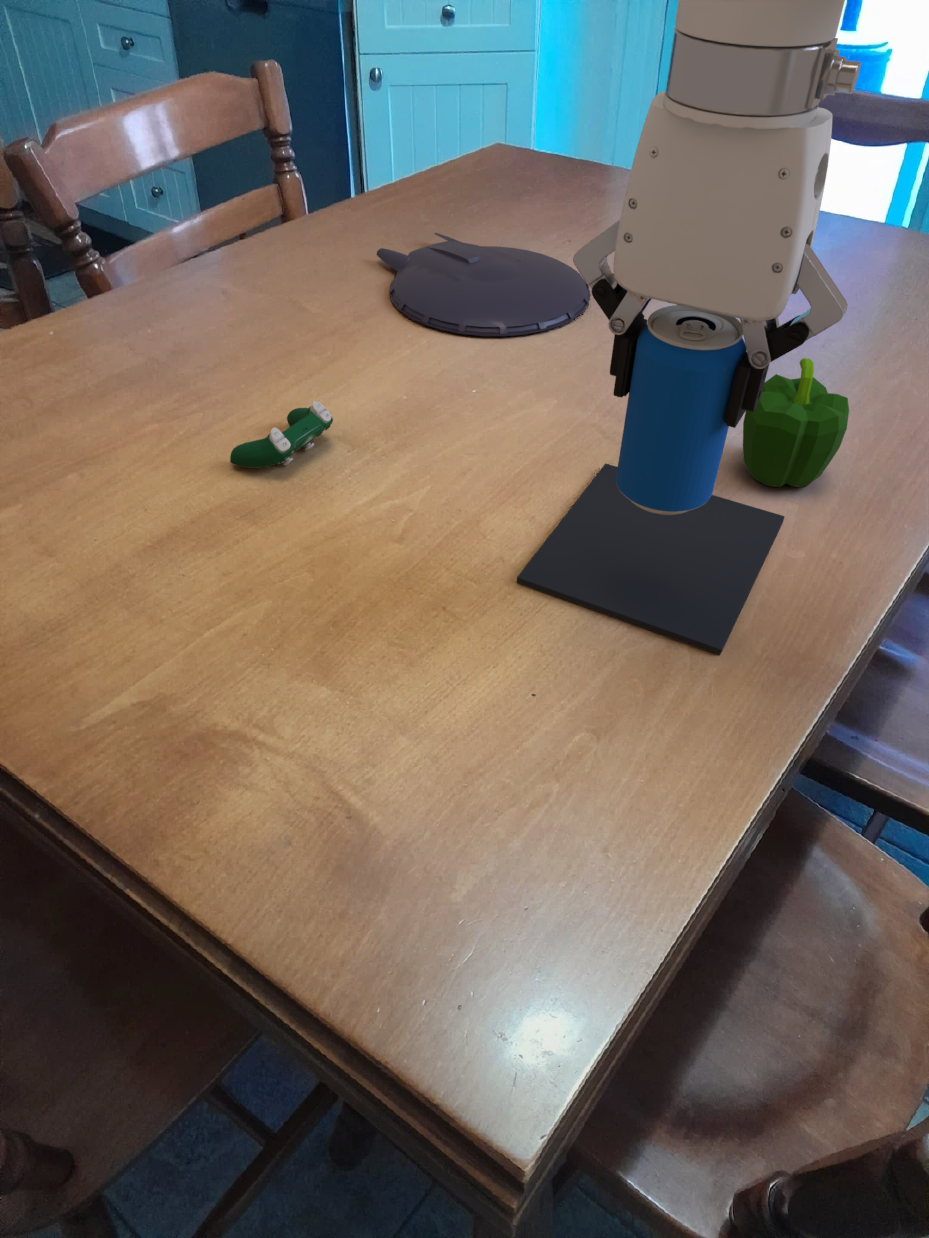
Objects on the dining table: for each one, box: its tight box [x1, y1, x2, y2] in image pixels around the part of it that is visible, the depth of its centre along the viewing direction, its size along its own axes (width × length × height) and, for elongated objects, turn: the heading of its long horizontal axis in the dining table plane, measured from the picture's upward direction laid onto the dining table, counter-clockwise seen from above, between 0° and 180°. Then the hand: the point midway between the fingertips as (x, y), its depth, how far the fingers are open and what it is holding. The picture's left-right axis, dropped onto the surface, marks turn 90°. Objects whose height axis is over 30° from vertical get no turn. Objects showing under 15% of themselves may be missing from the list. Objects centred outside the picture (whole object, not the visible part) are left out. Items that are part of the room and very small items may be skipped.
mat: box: [516, 462, 785, 656], centre depth 72 cm, size 16×18×1 cm
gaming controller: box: [229, 400, 334, 469], centre depth 80 cm, size 9×4×6 cm
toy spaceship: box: [376, 232, 592, 337], centre depth 108 cm, size 28×24×3 cm
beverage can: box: [616, 304, 747, 515], centre depth 57 cm, size 6×6×12 cm
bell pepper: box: [742, 357, 850, 488], centre depth 77 cm, size 8×8×10 cm
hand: (680, 399), depth 56 cm, fingers closed on beverage can, 6 cm apart
